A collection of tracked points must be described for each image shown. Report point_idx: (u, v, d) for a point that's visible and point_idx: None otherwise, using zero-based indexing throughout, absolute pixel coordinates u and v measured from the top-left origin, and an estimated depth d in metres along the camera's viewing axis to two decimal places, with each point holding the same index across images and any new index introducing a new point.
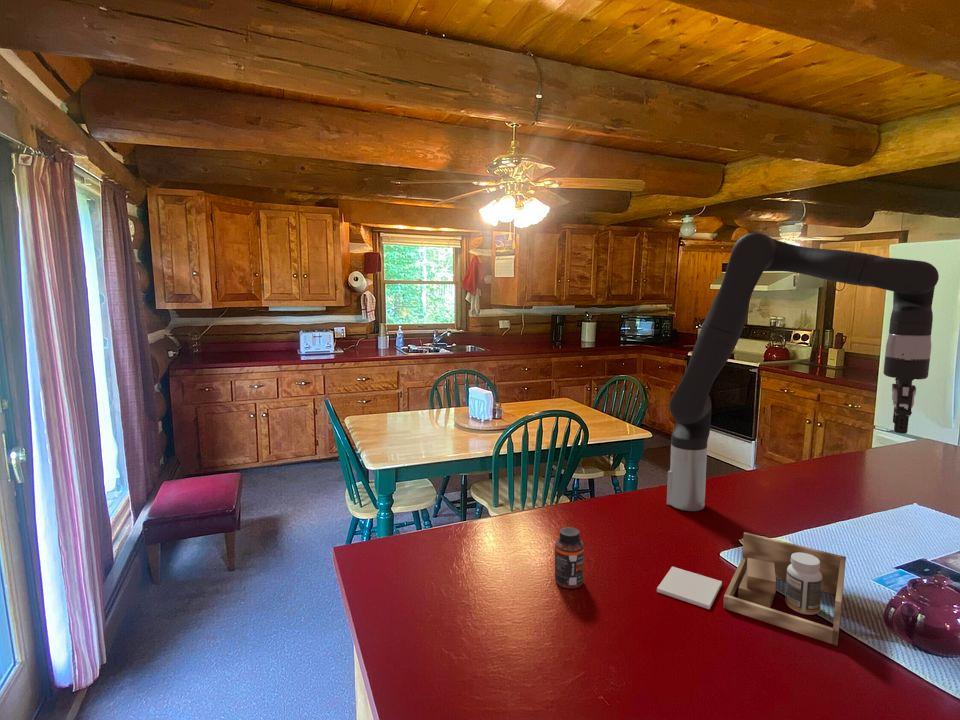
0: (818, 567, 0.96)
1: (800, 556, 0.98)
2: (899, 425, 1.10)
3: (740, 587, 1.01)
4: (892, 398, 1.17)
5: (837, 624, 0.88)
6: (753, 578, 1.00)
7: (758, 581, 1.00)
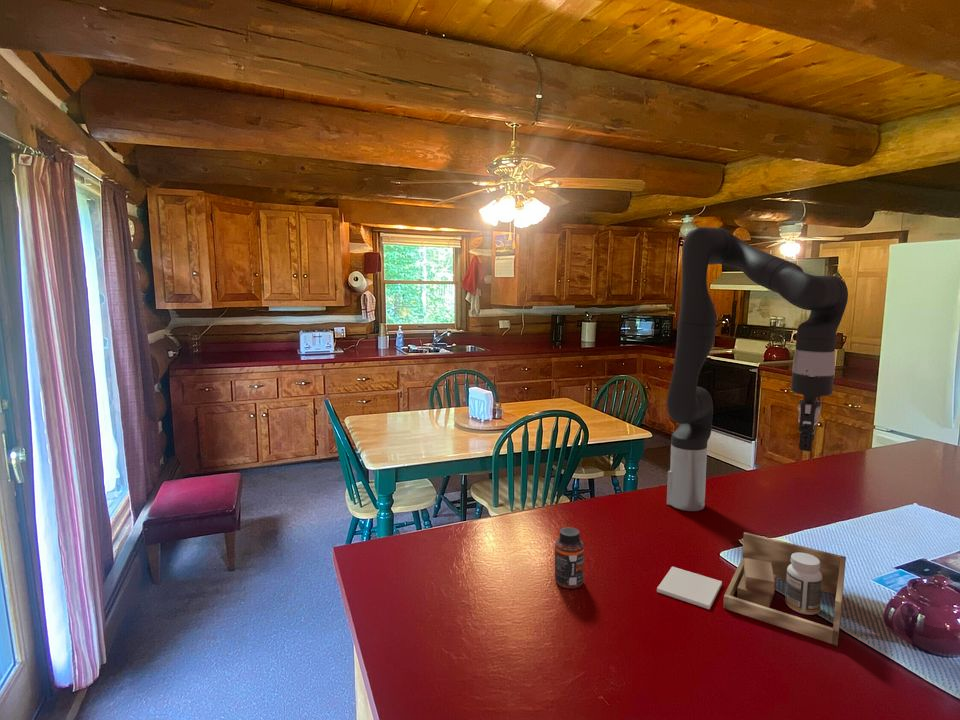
0: (818, 567, 0.96)
1: (800, 556, 0.98)
2: (803, 443, 1.08)
3: (739, 587, 1.01)
4: None
5: (837, 624, 0.88)
6: (752, 578, 1.00)
7: (756, 582, 1.00)
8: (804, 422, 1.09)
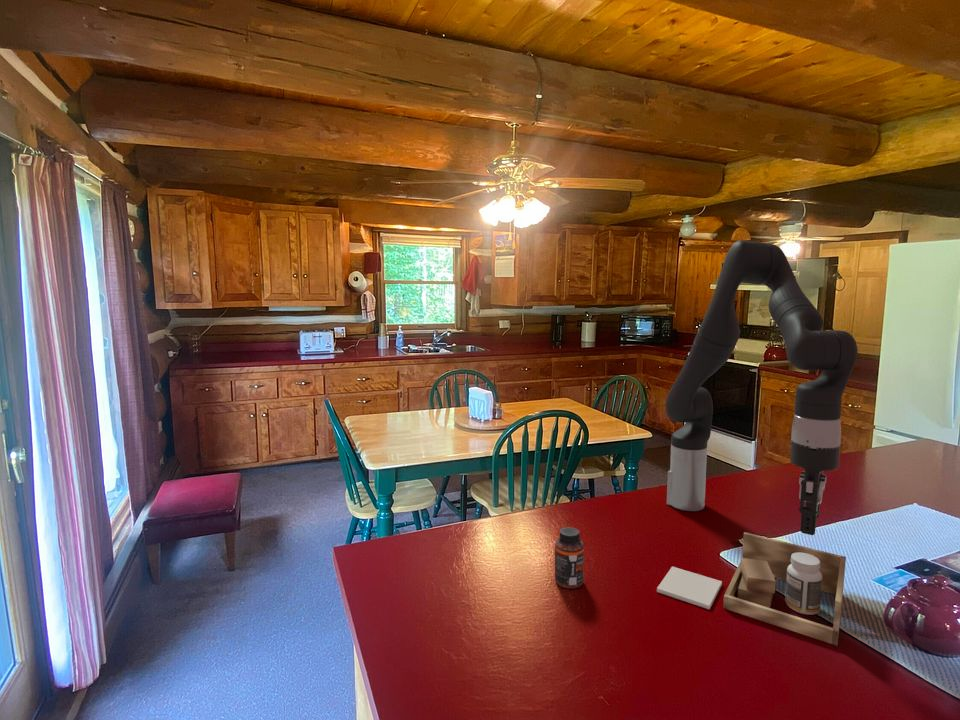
0: (818, 567, 0.96)
1: (800, 556, 0.98)
2: (805, 525, 0.92)
3: (740, 588, 1.01)
4: None
5: (837, 624, 0.88)
6: (753, 579, 1.00)
7: (758, 582, 1.00)
8: (806, 500, 0.93)
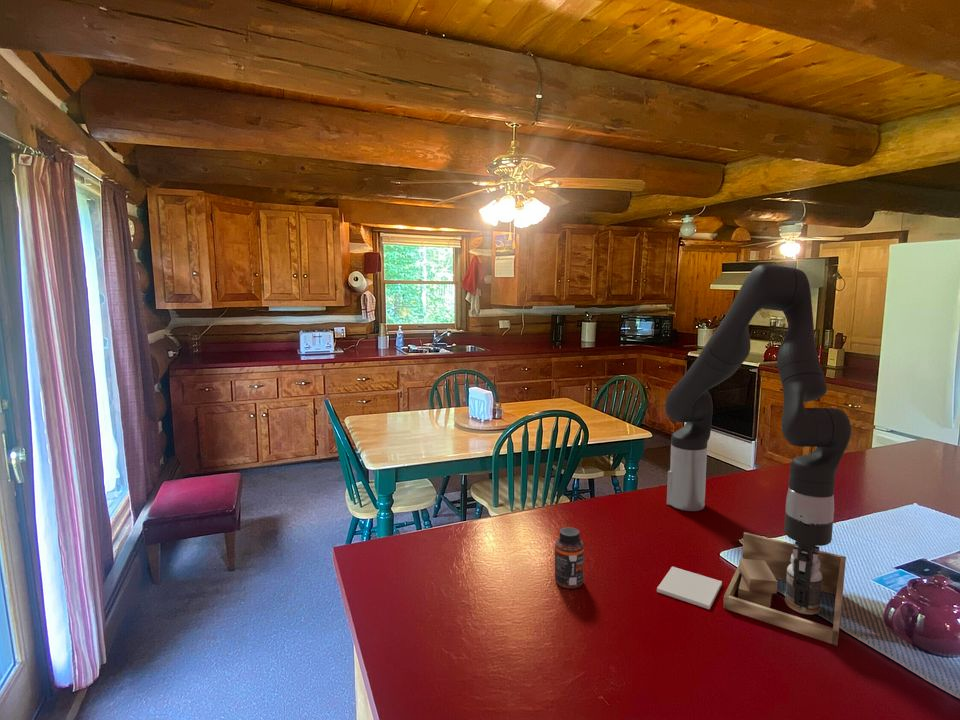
0: (818, 567, 0.96)
1: None
2: (798, 598, 0.95)
3: (740, 588, 1.01)
4: None
5: (837, 624, 0.88)
6: (756, 580, 1.00)
7: (760, 583, 1.00)
8: None
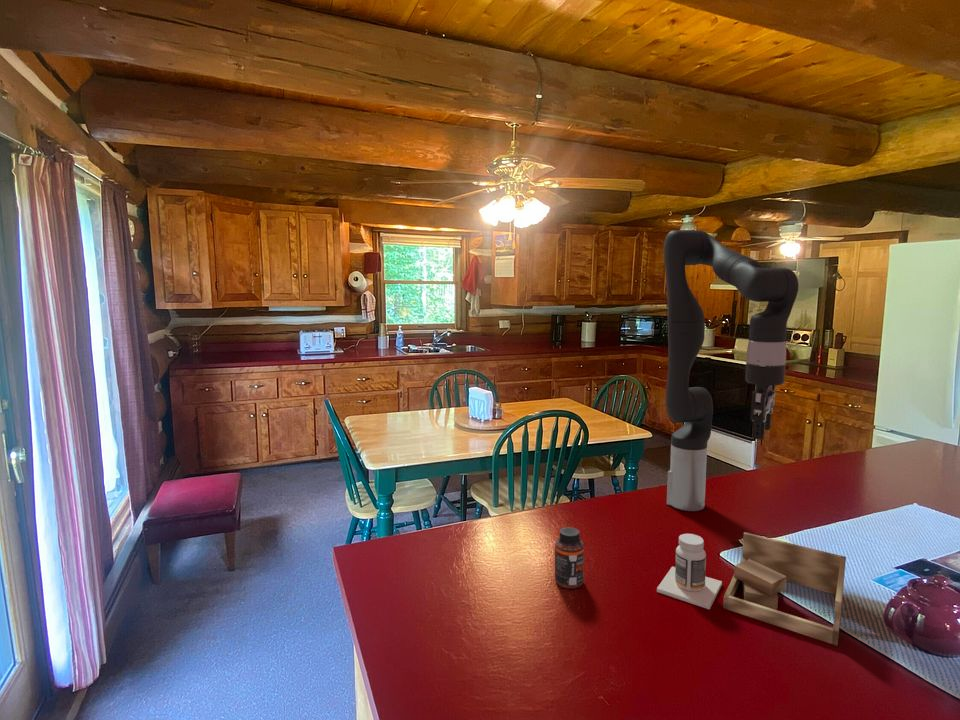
0: (701, 546, 1.02)
1: (687, 536, 1.05)
2: (755, 431, 1.11)
3: (746, 591, 1.00)
4: None
5: (837, 624, 0.88)
6: (775, 583, 0.99)
7: (777, 584, 0.99)
8: (757, 411, 1.12)
